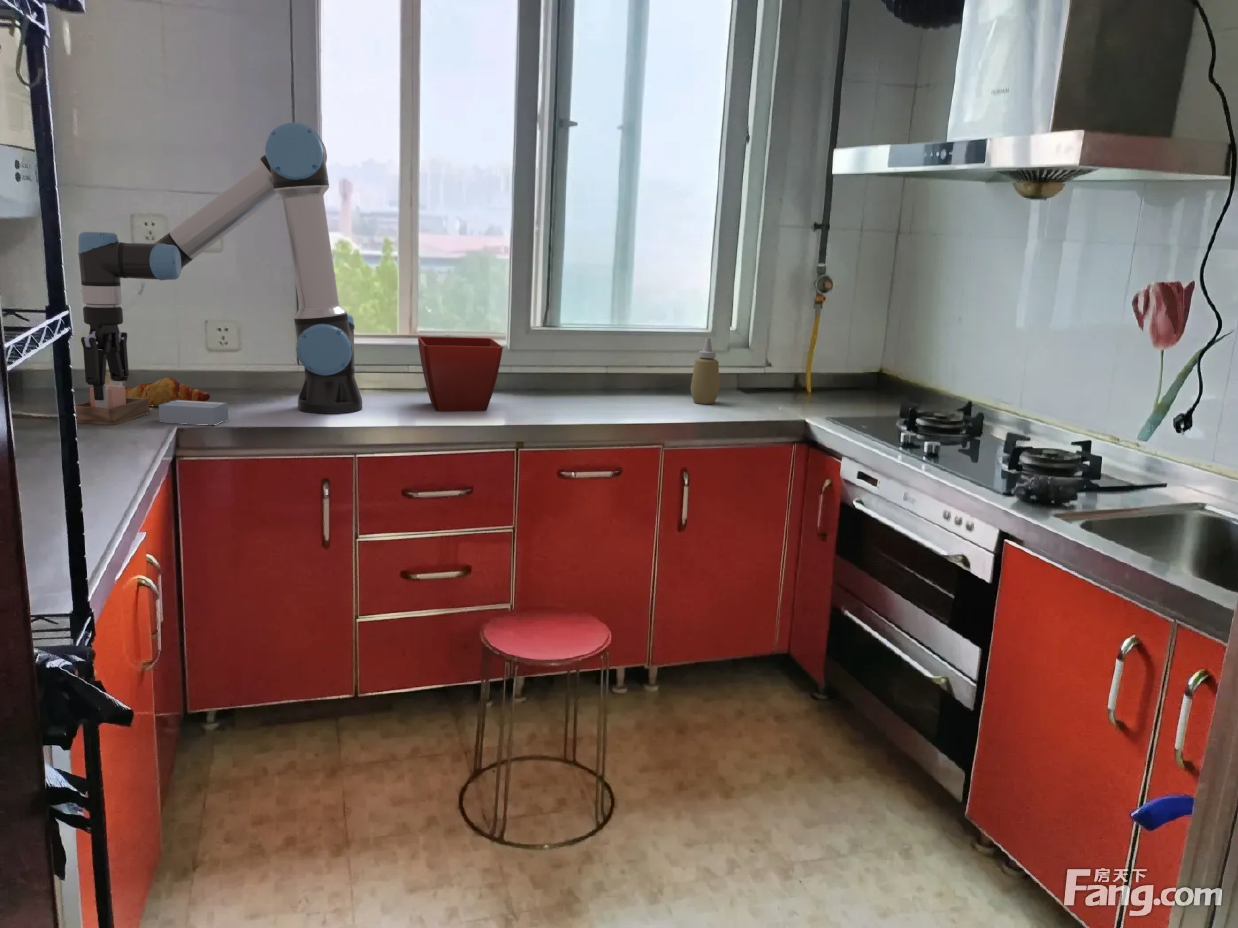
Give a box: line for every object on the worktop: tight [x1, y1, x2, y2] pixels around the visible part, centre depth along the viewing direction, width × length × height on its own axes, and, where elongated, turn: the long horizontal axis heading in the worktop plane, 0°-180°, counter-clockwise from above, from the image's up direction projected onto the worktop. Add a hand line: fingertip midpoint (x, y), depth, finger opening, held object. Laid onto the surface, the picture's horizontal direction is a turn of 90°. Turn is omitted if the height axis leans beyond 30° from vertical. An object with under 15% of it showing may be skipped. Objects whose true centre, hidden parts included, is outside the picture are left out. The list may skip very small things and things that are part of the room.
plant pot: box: [417, 336, 504, 412], centre depth 245 cm, size 19×19×17 cm
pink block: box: [89, 383, 126, 408], centre depth 213 cm, size 5×5×6 cm
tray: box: [75, 398, 151, 426], centre depth 213 cm, size 10×14×3 cm
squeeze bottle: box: [690, 338, 720, 405], centre depth 270 cm, size 8×8×18 cm
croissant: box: [125, 377, 211, 406], centre depth 232 cm, size 21×10×8 cm, turn 97°
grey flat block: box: [158, 400, 229, 425], centre depth 213 cm, size 12×7×4 cm, turn 86°
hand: (110, 412), depth 213 cm, fingers closed on pink block, 5 cm apart
